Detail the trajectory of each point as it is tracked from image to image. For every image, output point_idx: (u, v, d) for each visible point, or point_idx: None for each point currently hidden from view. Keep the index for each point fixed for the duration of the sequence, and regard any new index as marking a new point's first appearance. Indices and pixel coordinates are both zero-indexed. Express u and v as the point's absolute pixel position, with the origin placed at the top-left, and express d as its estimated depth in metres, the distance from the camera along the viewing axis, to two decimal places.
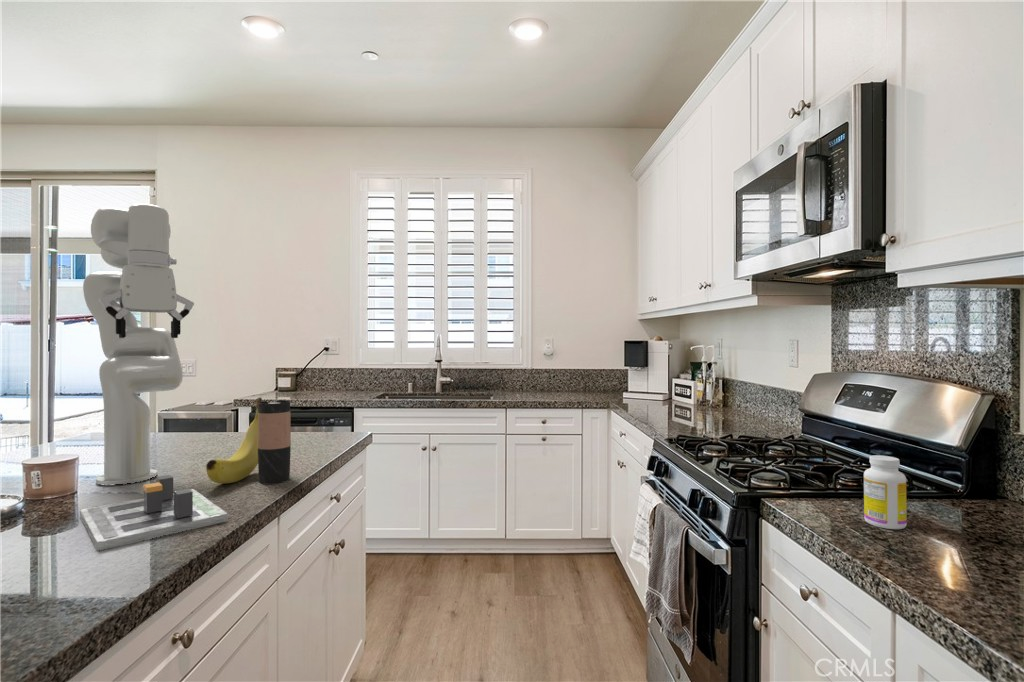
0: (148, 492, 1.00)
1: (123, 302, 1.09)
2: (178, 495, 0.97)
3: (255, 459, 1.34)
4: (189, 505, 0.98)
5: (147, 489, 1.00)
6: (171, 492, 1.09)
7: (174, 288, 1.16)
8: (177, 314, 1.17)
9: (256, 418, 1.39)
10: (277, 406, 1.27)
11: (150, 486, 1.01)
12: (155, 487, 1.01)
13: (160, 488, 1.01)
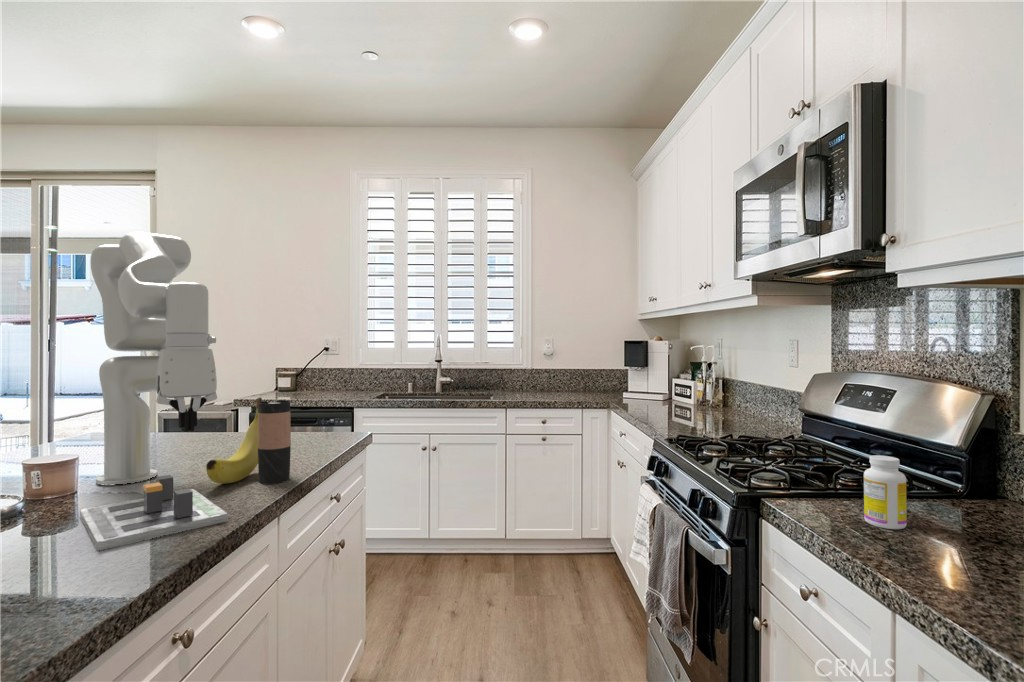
0: (148, 492, 1.00)
1: (161, 390, 1.01)
2: (178, 495, 0.97)
3: (255, 459, 1.34)
4: (189, 505, 0.98)
5: (147, 489, 1.00)
6: (171, 492, 1.09)
7: (214, 370, 1.08)
8: (193, 405, 1.05)
9: (256, 418, 1.39)
10: (277, 406, 1.27)
11: (150, 486, 1.01)
12: (155, 487, 1.01)
13: (160, 488, 1.01)
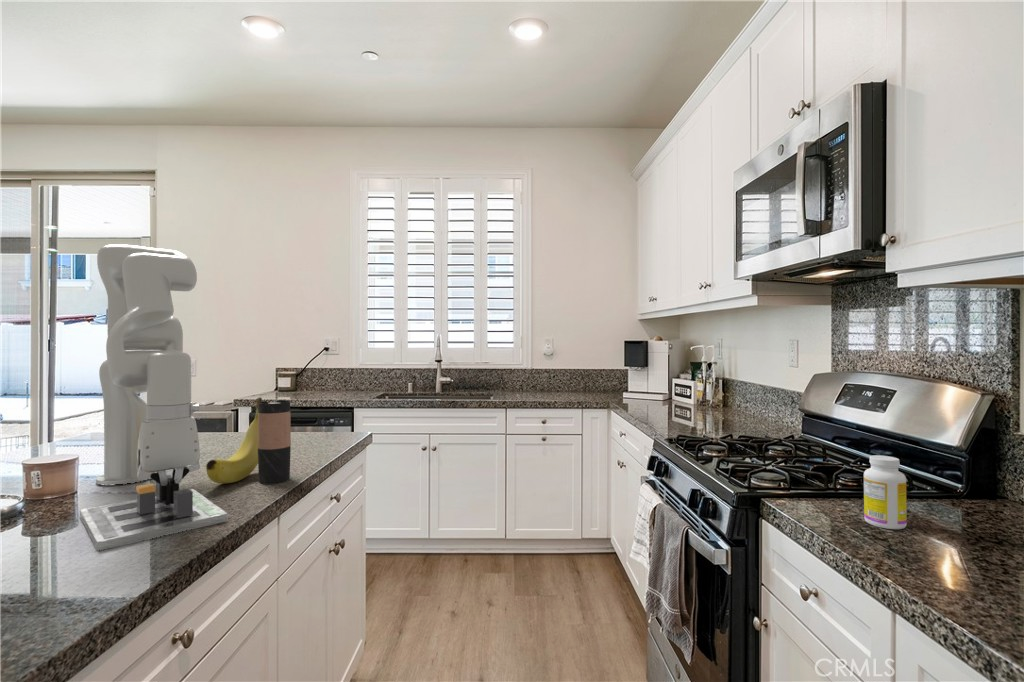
0: (141, 493, 0.99)
1: (142, 465, 0.99)
2: (178, 495, 0.97)
3: (255, 459, 1.34)
4: (189, 505, 0.98)
5: (140, 490, 0.99)
6: None
7: (197, 440, 1.05)
8: (175, 477, 1.03)
9: (256, 418, 1.39)
10: (277, 406, 1.27)
11: (143, 487, 1.00)
12: (148, 488, 1.00)
13: (153, 489, 1.00)
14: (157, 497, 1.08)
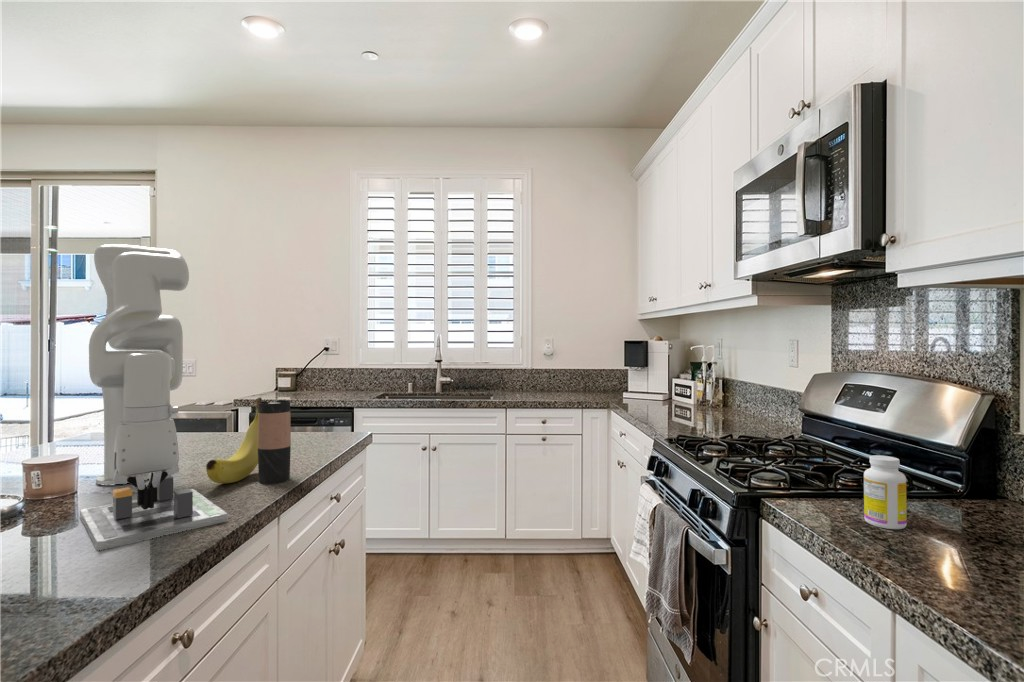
0: (117, 497, 0.96)
1: (118, 469, 0.96)
2: (178, 495, 0.97)
3: (255, 459, 1.34)
4: (189, 505, 0.98)
5: (116, 494, 0.96)
6: (171, 492, 1.09)
7: (176, 442, 1.03)
8: (153, 480, 1.01)
9: (256, 418, 1.39)
10: (277, 406, 1.27)
11: (119, 491, 0.97)
12: (125, 492, 0.97)
13: (130, 493, 0.98)
14: (157, 497, 1.08)
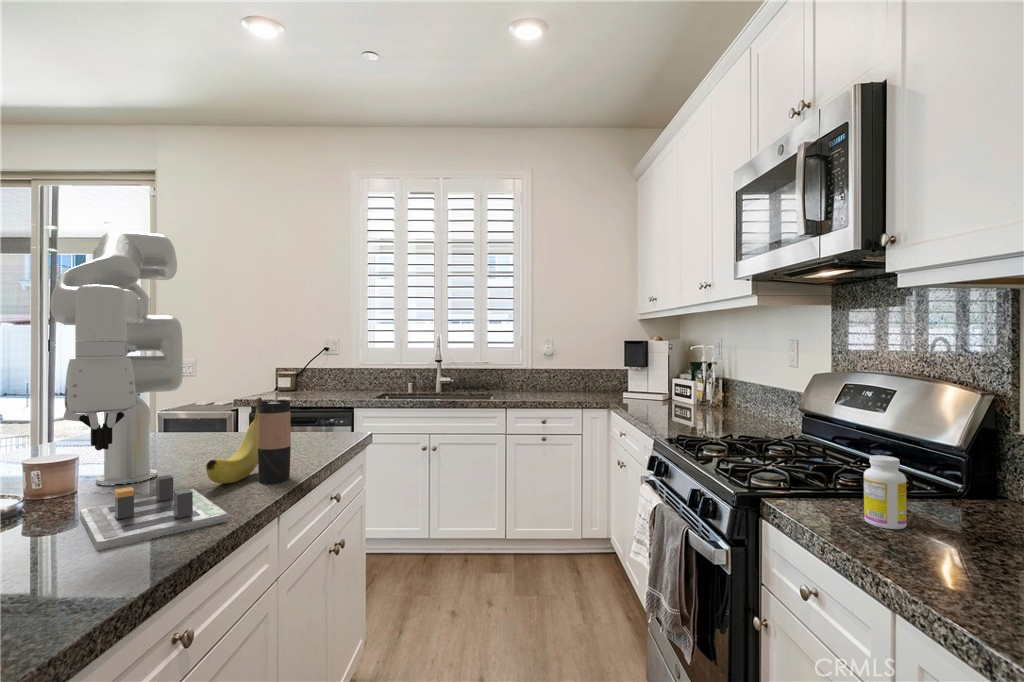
0: (119, 497, 0.96)
1: (69, 405, 0.91)
2: (178, 495, 0.97)
3: (255, 459, 1.34)
4: (189, 505, 0.98)
5: (118, 494, 0.96)
6: (171, 492, 1.09)
7: (133, 381, 0.98)
8: (108, 420, 0.95)
9: (256, 418, 1.39)
10: (277, 406, 1.27)
11: (121, 491, 0.97)
12: (126, 492, 0.97)
13: (132, 493, 0.98)
14: (157, 497, 1.08)
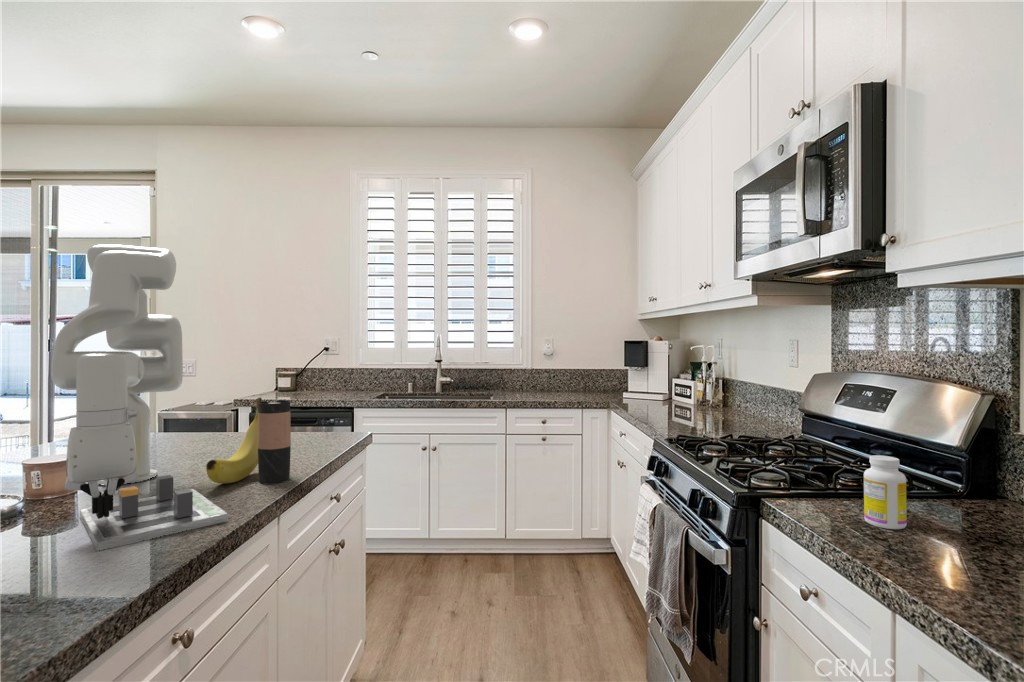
0: (123, 496, 0.97)
1: (69, 476, 0.91)
2: (178, 495, 0.97)
3: (255, 459, 1.34)
4: (189, 505, 0.98)
5: (122, 493, 0.97)
6: (171, 492, 1.09)
7: (133, 448, 0.98)
8: (108, 488, 0.96)
9: (256, 418, 1.39)
10: (277, 406, 1.27)
11: (125, 490, 0.98)
12: (131, 491, 0.98)
13: (136, 492, 0.98)
14: (157, 497, 1.08)
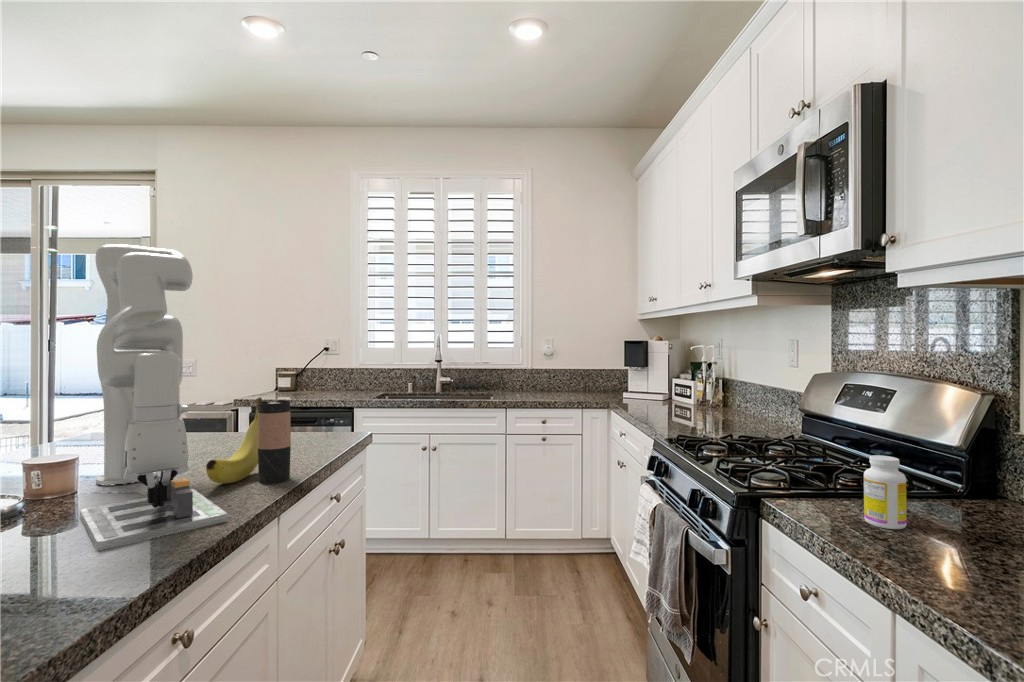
0: (176, 487, 1.03)
1: (129, 467, 0.97)
2: (178, 495, 0.97)
3: (255, 459, 1.34)
4: (189, 505, 0.98)
5: (175, 484, 1.03)
6: None
7: (185, 441, 1.04)
8: (163, 479, 1.02)
9: (256, 418, 1.39)
10: (277, 406, 1.27)
11: (178, 481, 1.04)
12: (183, 482, 1.04)
13: (187, 483, 1.04)
14: None
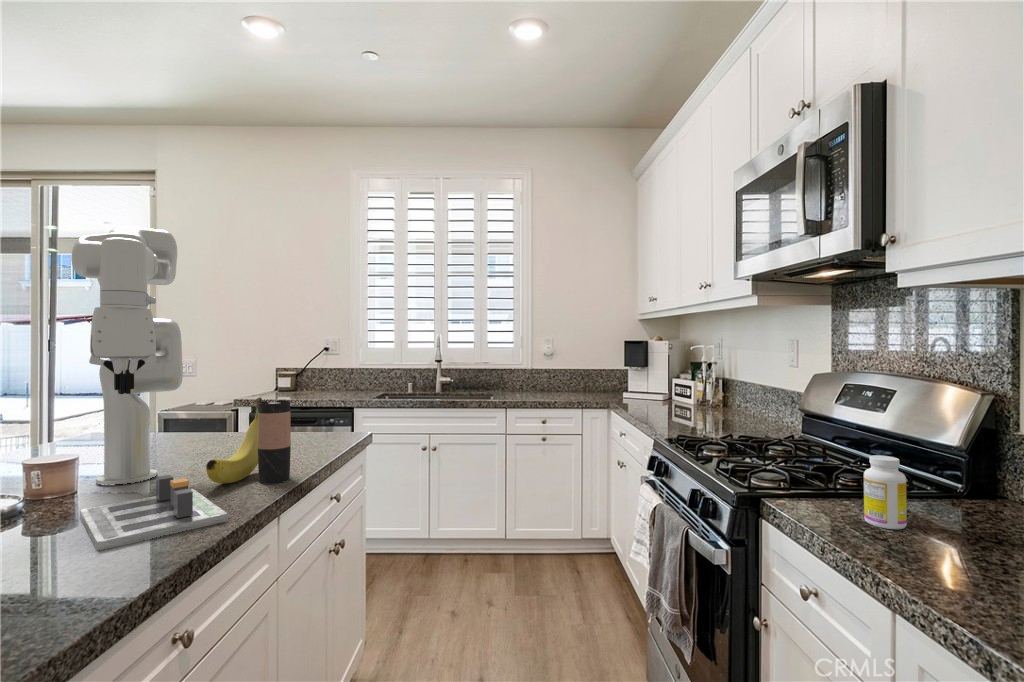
0: (175, 487, 1.03)
1: (94, 349, 0.97)
2: (178, 495, 0.97)
3: (255, 459, 1.34)
4: (189, 505, 0.98)
5: (174, 484, 1.03)
6: None
7: (153, 331, 1.03)
8: (130, 366, 1.01)
9: (256, 418, 1.39)
10: (277, 406, 1.27)
11: (177, 481, 1.04)
12: (182, 482, 1.04)
13: (186, 483, 1.04)
14: (157, 497, 1.08)
